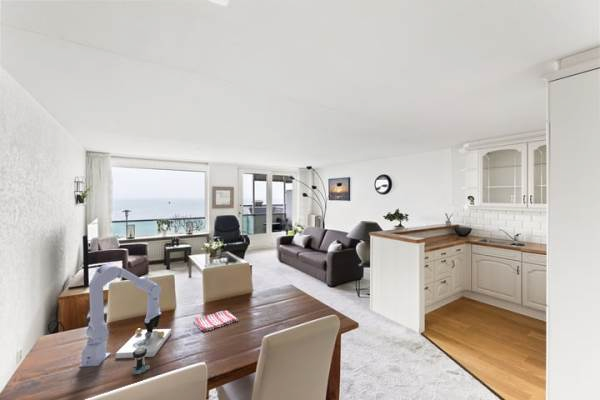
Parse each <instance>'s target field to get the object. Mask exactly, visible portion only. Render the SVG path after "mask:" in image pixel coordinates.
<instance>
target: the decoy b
mask: <svg viewBox="0 0 600 400" xmlns="http://www.w3.org/2000/svg"><path fill="white" fill-rule="evenodd" d="M157 336H158V337H159V338H161V337H163V336H164V332H163V331H160V332H159V333H158V335H157Z"/></svg>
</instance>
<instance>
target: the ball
mask: <svg viewBox="0 0 600 400" xmlns="http://www.w3.org/2000/svg"><path fill="white" fill-rule="evenodd" d="M151 335H152V333H151V332H150V331H148V332H146V333H145V337H146V338H150V337H151Z"/></svg>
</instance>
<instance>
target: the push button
mask: <svg viewBox="0 0 600 400" xmlns="http://www.w3.org/2000/svg"><path fill="white" fill-rule="evenodd" d="M146 352H147V349H146V348H144V347H140V348H137V349H136V350H135V351H134V352H133V358H134V365H133V367H132V375H133V376H134V375H140V374H142V373H145V372H146V371H147V370H149V369H150V365H147V363H146V362H145V357H144V356H145V355H146Z"/></svg>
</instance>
